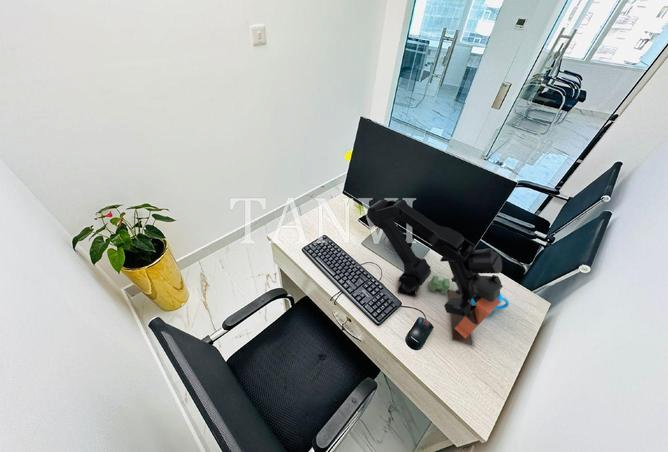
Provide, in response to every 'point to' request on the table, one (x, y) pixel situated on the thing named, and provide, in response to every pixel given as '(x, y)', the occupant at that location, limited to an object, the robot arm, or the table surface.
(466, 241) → the robot arm
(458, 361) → the table surface
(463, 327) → the letter I
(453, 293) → the board
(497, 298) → the mug
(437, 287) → the green knobbly lump
